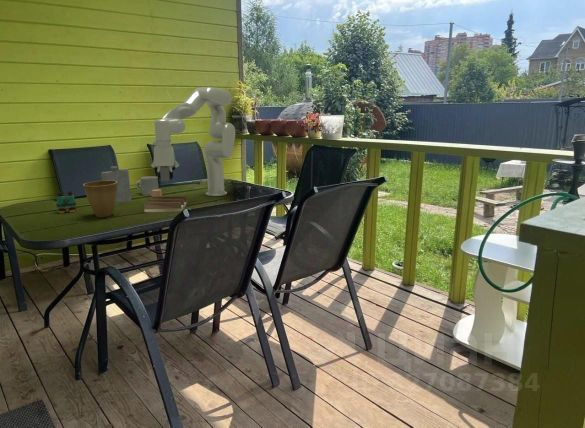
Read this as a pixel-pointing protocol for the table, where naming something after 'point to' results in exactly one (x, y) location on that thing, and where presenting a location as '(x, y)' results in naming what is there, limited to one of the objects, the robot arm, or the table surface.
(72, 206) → the binoculars
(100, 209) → the plant pot
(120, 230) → the table surface
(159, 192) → the terracotta plug block
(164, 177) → the grey plug block
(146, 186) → the coffee mug
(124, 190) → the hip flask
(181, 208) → the cream shelf rack
